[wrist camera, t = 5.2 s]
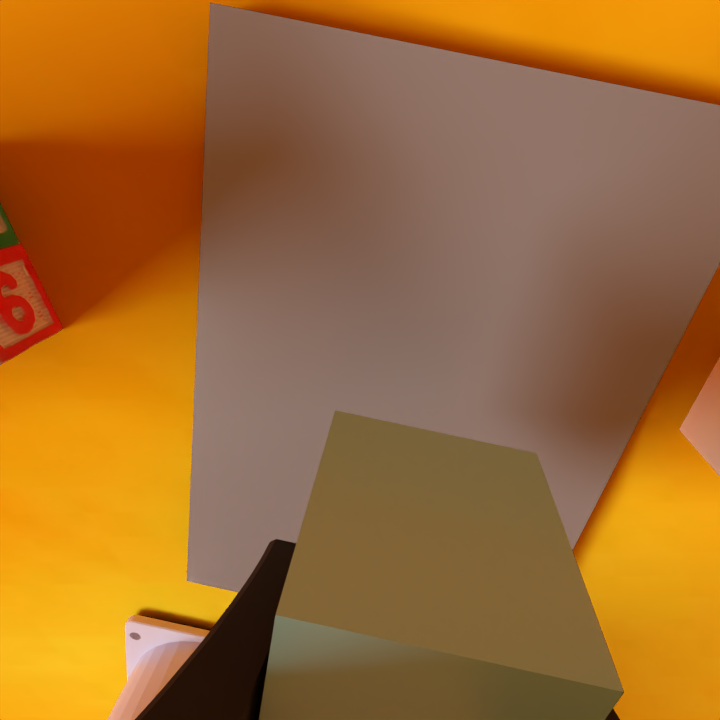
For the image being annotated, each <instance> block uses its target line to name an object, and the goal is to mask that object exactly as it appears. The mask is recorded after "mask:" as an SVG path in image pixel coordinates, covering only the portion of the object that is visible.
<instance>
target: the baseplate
mask: <svg viewBox="0 0 720 720" xmlns="http://www.w3.org/2000/svg"><path fill="white" fill-rule="evenodd" d="M719 264H720V105H716V104H711V103H706V102H701V101H696V100H691V99H686V98H681V97H676V96H671V95H666V94H661V93H656V92H651V91H647V90H642V89H637V88H632V87H627V86H622V85H617V84H612V83H607V82H602V81H597V80H592V79H587V78H582V77H577V76H572V75H567V74H562V73H557V72H552V71H547V70H542V69H537V68H533V67H528V66H523V65H518V64H513V63H508V62H503V61H498V60H493V59H488V58H483V57H478V56H473V55H468V54H463V53H458V52H453V51H448V50H443V49H438V48H433V47H428V46H423V45H418V44H414V43H409V42H404V41H399V40H394V39H389V38H384V37H379V36H374V35H369V34H364V33H359V32H354V31H349V30H344V29H339V28H334V27H329V26H324V25H319V24H314V23H309V22H304V21H300V20H295V19H290V18H285V17H280V16H275V15H270V14H265V13H260V12H255V11H250V10H245V9H240V8H235V7H230V6H225V5H220V4H215V3H210V18H209V43H208V68H207V93H206V118H205V142H204V167H203V192H202V217H201V242H200V266H199V291H198V316H197V341H196V366H195V390H194V415H193V440H192V465H191V489H190V514H189V539H188V564H187V581H189V582H194V583H199V584H203V585H208V586H212V587H217V588H221V589H226V590H230V591H235V592H239V591H240V590H241V588H242V587H243V585H244V584H245V583H246V581H247V580H248V578H249V577H250V575H251V574H252V572H253V570H254V569H255V567H256V566H257V564H258V562H259V561H260V559H261V557H262V556H263V554H264V552H265V550H266V548H267V546H268V544H269V542H271V541H273V540H275V539H279V540H283V541H288V542H293V543H297V539H298V536H299V533H300V529H301V526H302V522H303V519H304V515H305V512H306V508H307V505H308V502H309V498H310V495H311V491H312V488H313V484H314V481H315V478H316V474H317V471H318V467H319V464H320V460H321V457H322V454H323V450H324V447H325V443H326V440H327V436H328V433H329V430H330V426H331V423H332V419H333V416H334V412H335V410H336V411H341V412H346V413H350V414H355V415H360V416H365V417H369V418H374V419H379V420H383V421H388V422H393V423H397V424H402V425H407V426H411V427H416V428H421V429H425V430H430V431H435V432H439V433H444V434H449V435H453V436H458V437H463V438H467V439H472V440H477V441H481V442H486V443H491V444H496V445H500V446H505V447H510V448H514V449H519V450H524V451H528V452H533V453H537V455H538V458H539V461H540V463H541V466H542V469H543V472H544V474H545V477H546V480H547V483H548V485H549V488H550V491H551V494H552V496H553V499H554V502H555V504H556V507H557V510H558V513H559V515H560V518H561V521H562V524H563V526H564V529H565V532H566V535H567V537H568V540H569V543H570V545H571V548H572V550H573V548H574V546H575V544H576V542H577V541H578V539H579V537H580V535H581V533H582V531H583V529H584V527H585V525H586V523H587V521H588V519H589V517H590V515H591V513H592V511H593V509H594V507H595V506H596V504H597V502H598V500H599V498H600V496H601V494H602V492H603V490H604V488H605V486H606V484H607V482H608V480H609V478H610V476H611V474H612V472H613V470H614V469H615V467H616V465H617V463H618V461H619V459H620V457H621V455H622V453H623V451H624V449H625V447H626V445H627V443H628V441H629V439H630V437H631V435H632V433H633V432H634V430H635V428H636V426H637V424H638V422H639V420H640V418H641V416H642V414H643V412H644V410H645V408H646V406H647V404H648V402H649V400H650V398H651V396H652V395H653V393H654V391H655V389H656V387H657V385H658V383H659V381H660V379H661V377H662V375H663V373H664V371H665V369H666V367H667V365H668V363H669V361H670V360H671V358H672V356H673V354H674V352H675V350H676V348H677V346H678V344H679V342H680V340H681V338H682V336H683V334H684V332H685V330H686V328H687V326H688V324H689V323H690V321H691V319H692V317H693V315H694V313H695V311H696V309H697V307H698V305H699V303H700V301H701V299H702V297H703V295H704V293H705V291H706V289H707V287H708V286H709V284H710V282H711V280H712V278H713V276H714V274H715V272H716V270H717V268H718V266H719Z"/></svg>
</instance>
